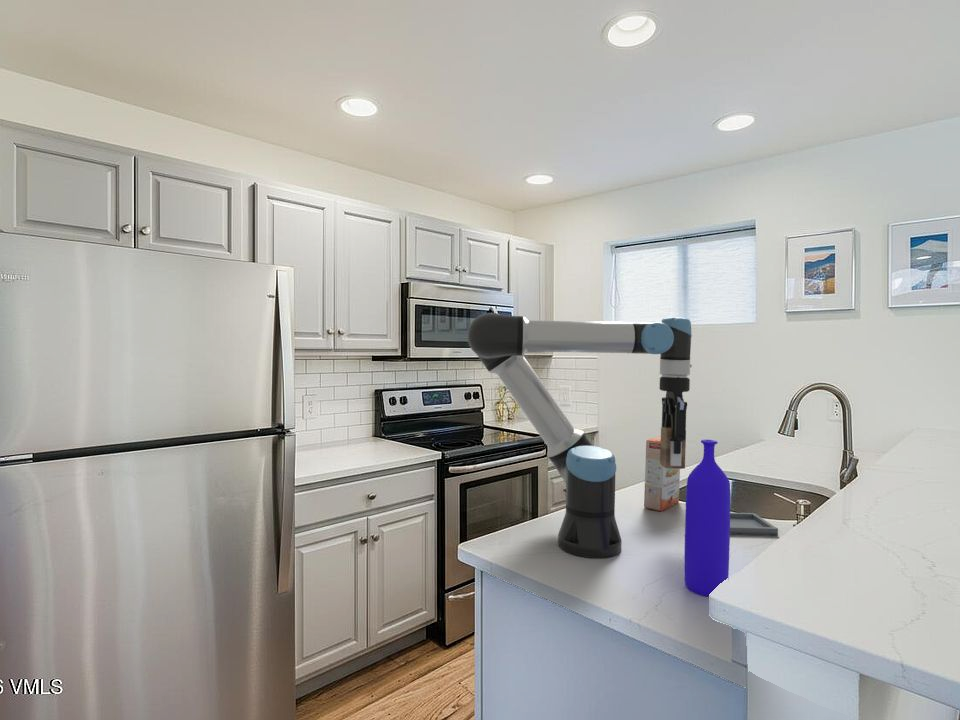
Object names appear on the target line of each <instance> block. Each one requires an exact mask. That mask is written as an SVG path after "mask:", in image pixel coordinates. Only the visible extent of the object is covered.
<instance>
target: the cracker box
mask: <svg viewBox="0 0 960 720" xmlns="http://www.w3.org/2000/svg"><path fill="white" fill-rule="evenodd" d="M645 442H646V443H645V467H644V469H645V471H644V472H645V474H644V494H643V495H644V496H643V498H644V500H643V501H644V502H643V508H644V509H648V510H653V511H657V512H663V511H665V510H666V509H668V508H670V507H672V506H674V505H676V504H678V503H679V502H680V501H679V500H680V482H681V481H680V478H681V469H680V468H665V467H663V466H662V465H661V464H660V446H661V435H660V436H658V437H653V438H649V439H646V441H645Z"/></svg>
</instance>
